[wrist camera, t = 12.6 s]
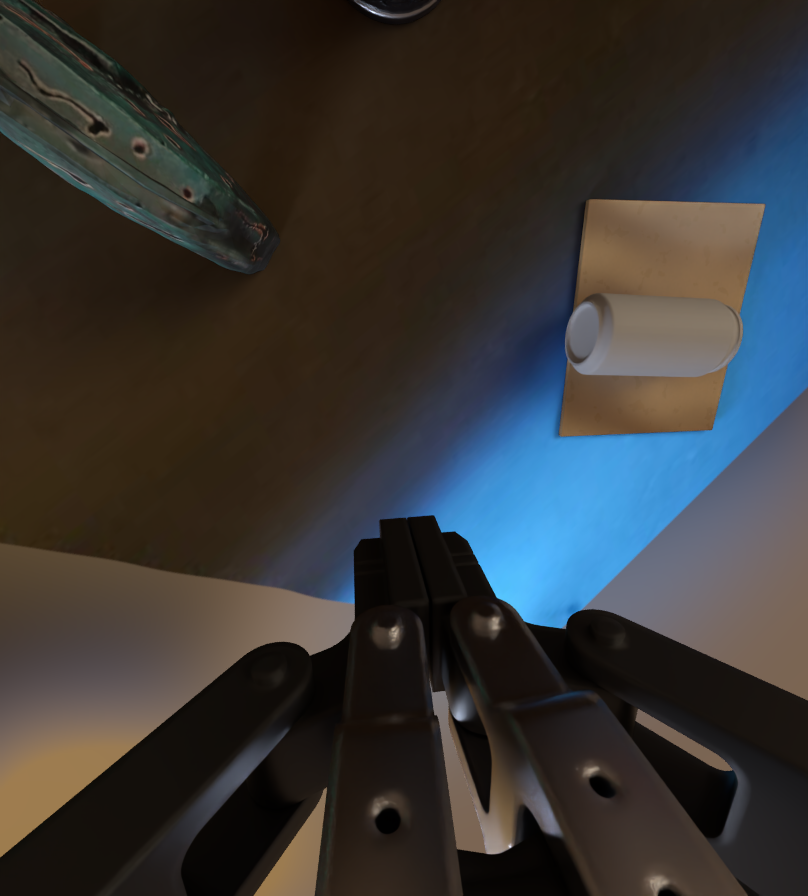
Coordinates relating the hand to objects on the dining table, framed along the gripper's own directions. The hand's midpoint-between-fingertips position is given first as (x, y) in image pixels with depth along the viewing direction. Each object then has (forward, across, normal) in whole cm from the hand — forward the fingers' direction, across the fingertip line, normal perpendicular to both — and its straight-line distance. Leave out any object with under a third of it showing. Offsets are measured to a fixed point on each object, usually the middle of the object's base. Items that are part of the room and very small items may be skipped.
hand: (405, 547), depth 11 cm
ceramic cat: (+27, +14, -16) cm, 34 cm away
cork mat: (+26, -26, -4) cm, 38 cm away
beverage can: (+23, -17, -4) cm, 29 cm away
